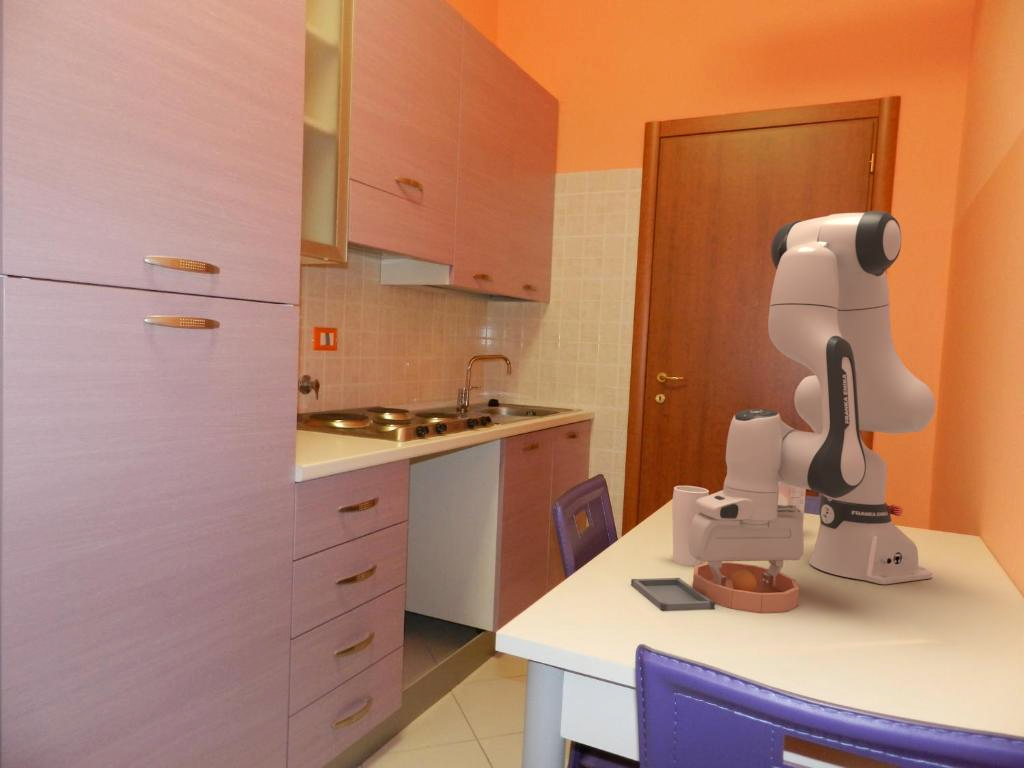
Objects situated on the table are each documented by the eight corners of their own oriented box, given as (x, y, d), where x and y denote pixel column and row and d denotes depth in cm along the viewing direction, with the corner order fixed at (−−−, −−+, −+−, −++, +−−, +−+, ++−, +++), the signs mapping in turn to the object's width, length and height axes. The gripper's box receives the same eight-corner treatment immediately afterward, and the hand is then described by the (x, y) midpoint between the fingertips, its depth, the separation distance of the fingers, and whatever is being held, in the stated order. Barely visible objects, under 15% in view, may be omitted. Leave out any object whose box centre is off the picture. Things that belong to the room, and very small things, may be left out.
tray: (678, 586, 119) (678, 577, 119) (714, 612, 107) (714, 602, 107) (630, 588, 117) (631, 579, 117) (662, 614, 105) (662, 604, 105)
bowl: (757, 579, 126) (758, 561, 125) (818, 614, 109) (820, 592, 109) (675, 582, 122) (676, 562, 121) (726, 618, 105) (727, 595, 105)
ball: (747, 589, 118) (748, 566, 118) (760, 597, 114) (762, 574, 114) (726, 590, 117) (728, 567, 117) (739, 598, 113) (741, 574, 113)
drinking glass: (705, 572, 129) (710, 493, 128) (669, 567, 130) (674, 490, 129) (702, 561, 135) (707, 487, 135) (668, 558, 137) (672, 484, 136)
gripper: (791, 501, 120) (785, 578, 121) (686, 500, 115) (681, 580, 116) (815, 509, 114) (809, 590, 115) (706, 508, 109) (700, 593, 110)
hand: (744, 585), depth 115 cm, fingers open, 8 cm apart
